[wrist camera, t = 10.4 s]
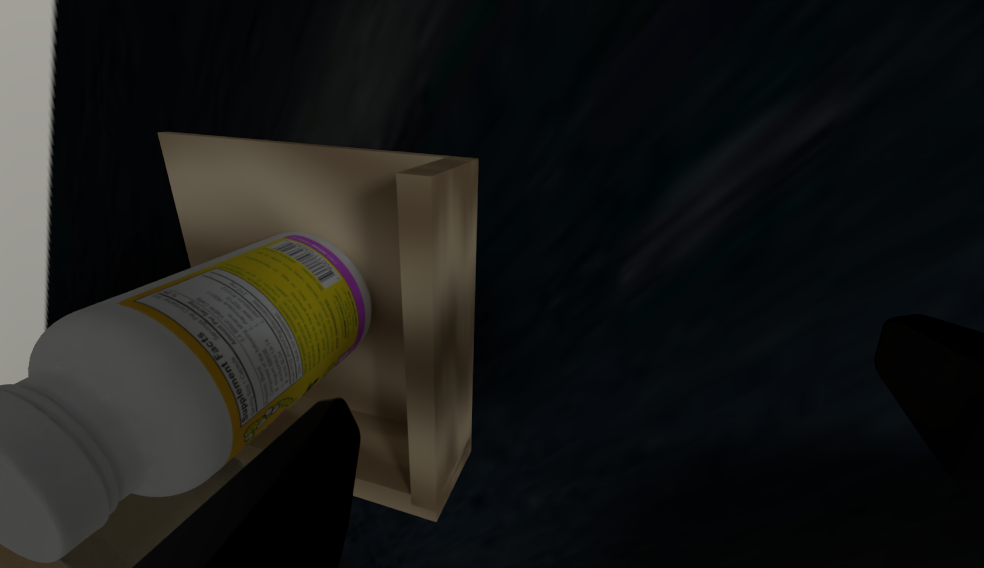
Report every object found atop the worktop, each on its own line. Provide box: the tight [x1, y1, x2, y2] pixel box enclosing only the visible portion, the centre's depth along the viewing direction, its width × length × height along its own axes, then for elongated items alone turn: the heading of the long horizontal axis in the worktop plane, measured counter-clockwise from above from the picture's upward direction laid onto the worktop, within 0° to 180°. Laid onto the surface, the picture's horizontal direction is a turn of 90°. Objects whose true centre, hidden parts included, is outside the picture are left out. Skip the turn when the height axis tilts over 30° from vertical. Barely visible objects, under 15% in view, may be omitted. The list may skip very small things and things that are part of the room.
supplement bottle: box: [0, 232, 372, 563], centre depth 17 cm, size 7×7×13 cm
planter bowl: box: [0, 457, 249, 568], centre depth 27 cm, size 16×16×11 cm
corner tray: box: [158, 132, 478, 522], centre depth 21 cm, size 15×16×4 cm
